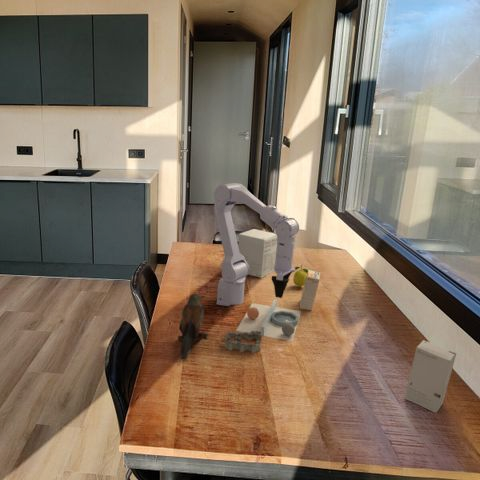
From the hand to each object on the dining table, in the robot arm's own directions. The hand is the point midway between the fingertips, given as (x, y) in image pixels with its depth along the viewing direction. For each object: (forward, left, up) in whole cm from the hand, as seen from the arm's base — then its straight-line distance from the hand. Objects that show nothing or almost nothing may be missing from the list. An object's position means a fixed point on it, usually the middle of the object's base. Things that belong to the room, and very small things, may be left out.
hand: (280, 293), depth 146 cm
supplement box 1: (-18, +45, -10) cm, 49 cm away
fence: (-2, -4, -10) cm, 11 cm away
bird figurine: (-21, -26, -10) cm, 35 cm away
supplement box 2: (+8, +13, -10) cm, 18 cm away
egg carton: (-7, -23, -10) cm, 26 cm away
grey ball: (+5, -12, -7) cm, 15 cm away
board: (-2, -4, -10) cm, 11 cm away
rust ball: (-8, -5, -7) cm, 12 cm away
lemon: (+3, +33, -10) cm, 34 cm away
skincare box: (+43, -32, -10) cm, 55 cm away
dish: (+3, -3, -9) cm, 10 cm away
